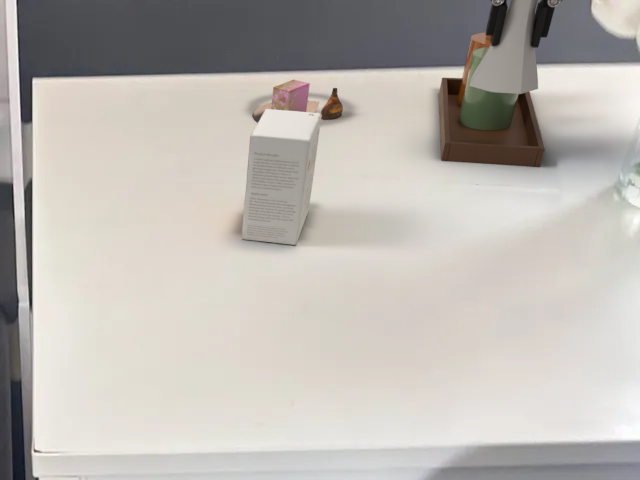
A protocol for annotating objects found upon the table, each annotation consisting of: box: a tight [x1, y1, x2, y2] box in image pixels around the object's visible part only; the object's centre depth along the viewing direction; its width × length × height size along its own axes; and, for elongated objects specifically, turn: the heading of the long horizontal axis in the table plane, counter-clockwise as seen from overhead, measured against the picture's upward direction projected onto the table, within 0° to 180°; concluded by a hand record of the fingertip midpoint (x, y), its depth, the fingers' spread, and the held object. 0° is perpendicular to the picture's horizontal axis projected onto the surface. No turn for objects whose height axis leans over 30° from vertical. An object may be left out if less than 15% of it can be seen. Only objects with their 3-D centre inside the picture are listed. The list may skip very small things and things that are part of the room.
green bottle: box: [458, 47, 519, 130], centre depth 113 cm, size 6×6×11 cm
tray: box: [438, 77, 546, 168], centre depth 114 cm, size 10×25×3 cm, turn 162°
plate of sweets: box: [251, 79, 344, 123], centre depth 121 cm, size 12×12×4 cm
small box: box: [241, 109, 322, 246], centre depth 93 cm, size 8×6×10 cm
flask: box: [470, 0, 539, 94], centre depth 102 cm, size 7×7×10 cm
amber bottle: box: [457, 9, 508, 107], centre depth 118 cm, size 6×6×11 cm
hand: (514, 41), depth 102 cm, fingers closed on flask, 3 cm apart
